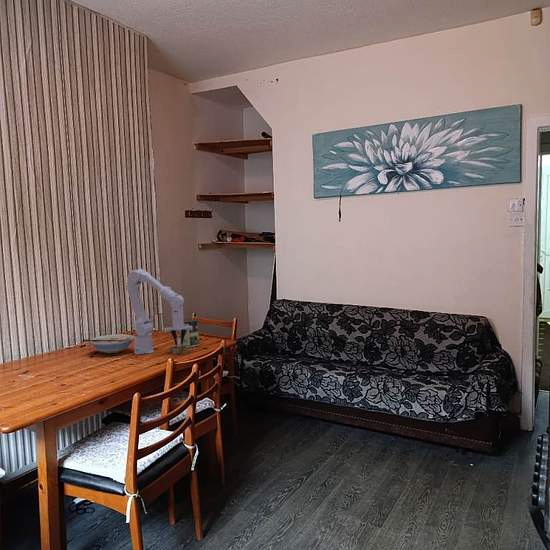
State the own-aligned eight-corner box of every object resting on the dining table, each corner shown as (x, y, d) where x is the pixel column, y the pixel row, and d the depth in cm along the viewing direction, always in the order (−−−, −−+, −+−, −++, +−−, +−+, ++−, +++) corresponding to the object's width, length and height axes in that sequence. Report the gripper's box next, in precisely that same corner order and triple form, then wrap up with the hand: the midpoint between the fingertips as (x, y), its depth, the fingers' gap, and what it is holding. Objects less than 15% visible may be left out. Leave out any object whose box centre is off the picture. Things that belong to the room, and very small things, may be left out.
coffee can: (199, 342, 279) (198, 318, 278) (199, 346, 269) (197, 321, 268) (181, 344, 278) (179, 319, 277) (180, 348, 268) (178, 322, 267)
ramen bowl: (143, 347, 272) (142, 332, 271) (126, 357, 249) (125, 342, 249) (100, 347, 274) (99, 332, 274) (79, 357, 252) (78, 341, 251)
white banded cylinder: (176, 349, 255) (176, 335, 255) (176, 347, 258) (176, 334, 257) (181, 348, 256) (180, 335, 255) (181, 347, 258) (181, 334, 258)
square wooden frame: (174, 355, 252) (174, 349, 251) (169, 352, 259) (169, 346, 258) (189, 353, 256) (188, 347, 255) (183, 350, 263) (183, 344, 262)
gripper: (163, 321, 250) (165, 347, 251) (192, 319, 254) (193, 344, 255) (163, 318, 257) (164, 344, 258) (191, 316, 260) (192, 342, 262)
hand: (178, 344), depth 257 cm, fingers closed on white banded cylinder, 2 cm apart
